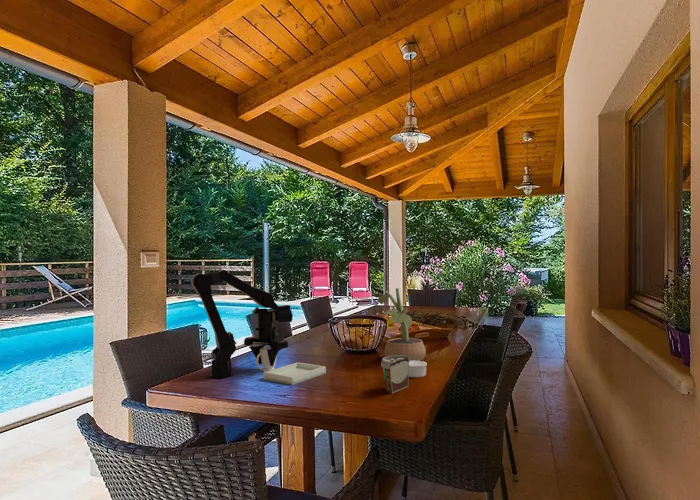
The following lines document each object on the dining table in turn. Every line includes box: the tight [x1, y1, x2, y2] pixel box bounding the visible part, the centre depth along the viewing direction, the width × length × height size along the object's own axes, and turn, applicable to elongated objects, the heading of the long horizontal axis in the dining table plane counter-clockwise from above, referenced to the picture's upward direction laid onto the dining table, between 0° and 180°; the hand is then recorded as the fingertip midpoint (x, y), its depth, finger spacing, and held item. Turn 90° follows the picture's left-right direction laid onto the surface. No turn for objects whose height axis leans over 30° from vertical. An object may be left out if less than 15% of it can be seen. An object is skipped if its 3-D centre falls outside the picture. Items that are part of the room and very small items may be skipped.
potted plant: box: [376, 287, 427, 361], centre depth 194 cm, size 22×18×30 cm
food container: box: [380, 355, 410, 394], centre depth 155 cm, size 12×6×10 cm, turn 141°
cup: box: [255, 346, 278, 372], centre depth 183 cm, size 7×10×8 cm
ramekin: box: [409, 360, 428, 378], centre depth 171 cm, size 9×9×4 cm
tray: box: [263, 361, 327, 386], centre depth 173 cm, size 18×14×2 cm
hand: (266, 365), depth 183 cm, fingers closed on cup, 6 cm apart
